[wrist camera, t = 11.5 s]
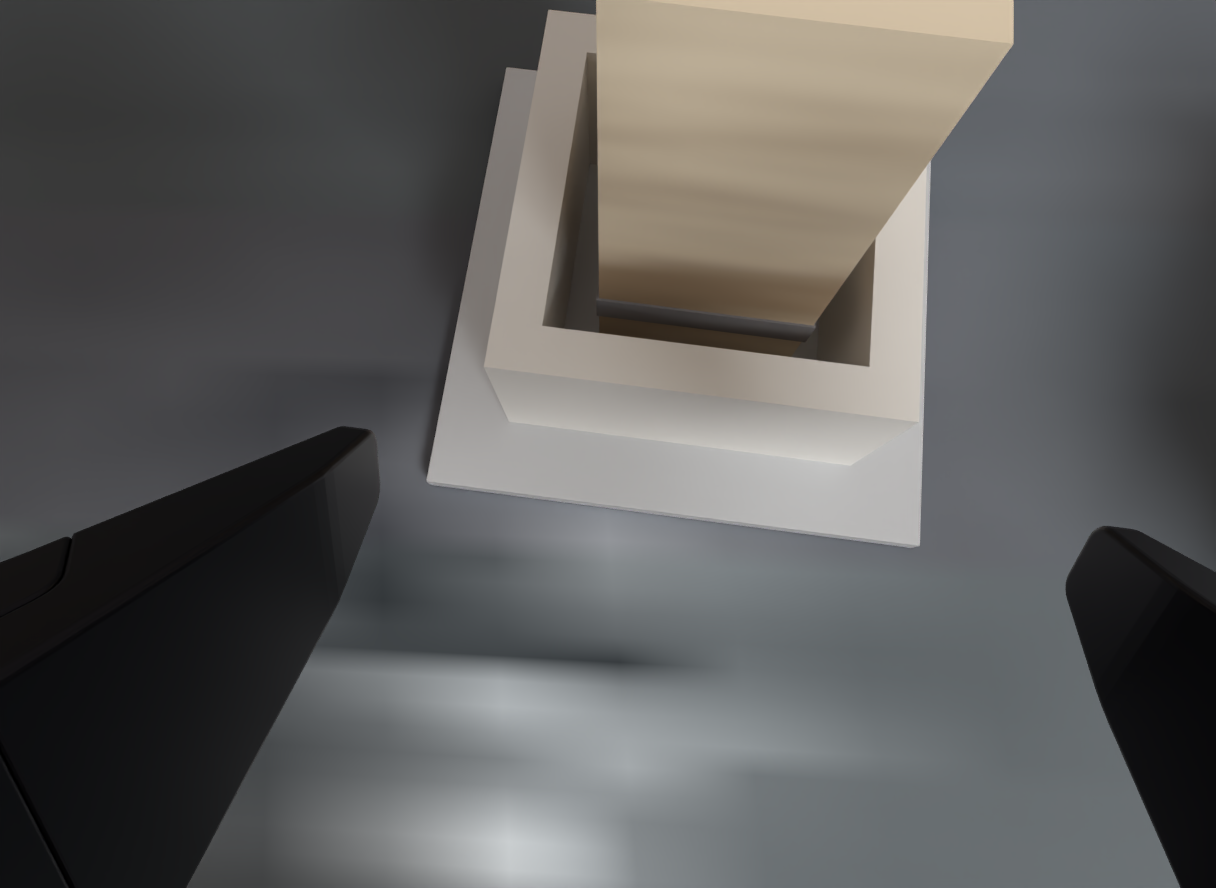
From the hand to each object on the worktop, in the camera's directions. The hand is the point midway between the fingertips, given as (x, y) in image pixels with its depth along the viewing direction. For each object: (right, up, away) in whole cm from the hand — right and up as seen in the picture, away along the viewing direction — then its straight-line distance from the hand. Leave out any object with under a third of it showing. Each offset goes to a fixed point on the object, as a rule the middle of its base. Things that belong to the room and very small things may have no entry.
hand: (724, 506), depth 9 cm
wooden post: (+1, +5, +10) cm, 11 cm away
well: (+1, +5, +10) cm, 11 cm away
